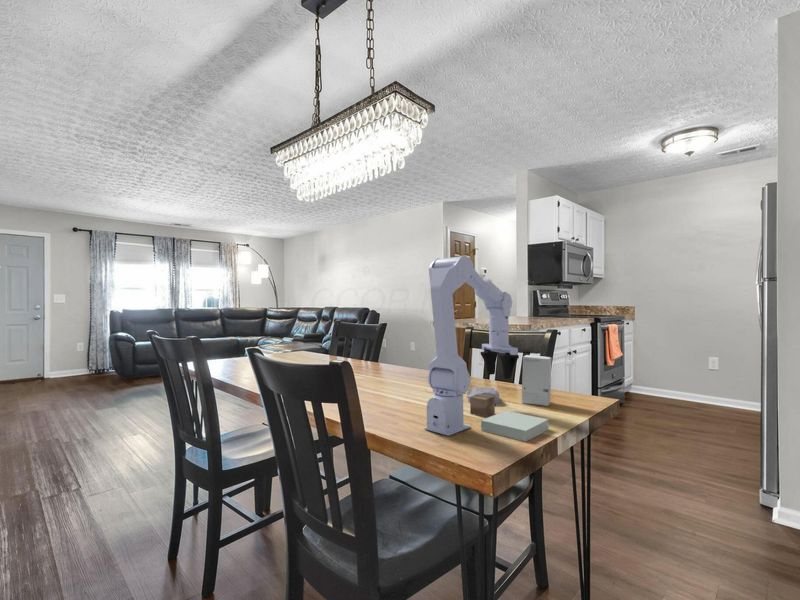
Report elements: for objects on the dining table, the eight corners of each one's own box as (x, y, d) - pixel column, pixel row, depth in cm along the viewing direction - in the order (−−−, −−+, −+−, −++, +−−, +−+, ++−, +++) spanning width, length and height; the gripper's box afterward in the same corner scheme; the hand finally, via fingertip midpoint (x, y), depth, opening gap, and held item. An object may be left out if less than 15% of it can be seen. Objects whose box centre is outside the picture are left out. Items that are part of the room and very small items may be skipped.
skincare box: (521, 403, 126) (521, 356, 126) (525, 399, 131) (524, 354, 131) (549, 406, 122) (549, 358, 122) (552, 402, 127) (551, 355, 127)
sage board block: (525, 443, 92) (525, 430, 92) (481, 432, 100) (481, 420, 100) (548, 431, 100) (548, 419, 100) (505, 421, 109) (505, 410, 109)
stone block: (471, 411, 125) (502, 404, 125) (468, 396, 125) (499, 389, 125) (466, 403, 137) (494, 397, 137) (463, 389, 137) (491, 383, 137)
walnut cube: (485, 417, 112) (485, 399, 112) (470, 414, 115) (470, 396, 115) (494, 413, 115) (494, 396, 115) (480, 410, 119) (479, 393, 119)
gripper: (525, 332, 116) (526, 379, 116) (494, 329, 129) (494, 371, 129) (506, 333, 113) (506, 381, 113) (476, 330, 126) (476, 373, 126)
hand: (499, 376), depth 120 cm, fingers open, 7 cm apart
